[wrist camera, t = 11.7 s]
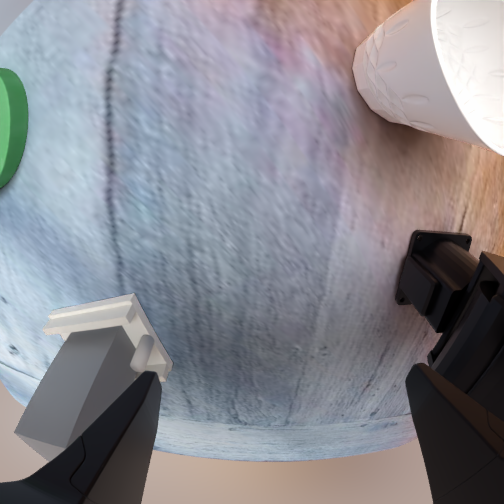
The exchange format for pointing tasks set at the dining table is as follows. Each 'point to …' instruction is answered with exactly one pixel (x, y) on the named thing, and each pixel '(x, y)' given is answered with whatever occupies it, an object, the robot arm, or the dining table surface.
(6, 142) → the tape roll
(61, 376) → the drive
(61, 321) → the tray
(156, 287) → the dining table surface
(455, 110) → the white cup
